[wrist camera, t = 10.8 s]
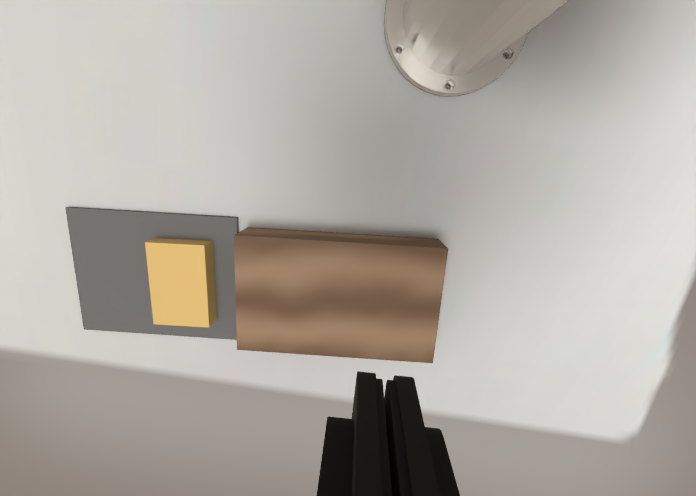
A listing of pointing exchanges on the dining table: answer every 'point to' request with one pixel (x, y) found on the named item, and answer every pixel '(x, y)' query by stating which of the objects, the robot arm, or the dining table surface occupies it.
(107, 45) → the dining table surface
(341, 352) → the brown wooden block
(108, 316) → the mat
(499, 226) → the dining table surface
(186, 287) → the yellow rectangular block
